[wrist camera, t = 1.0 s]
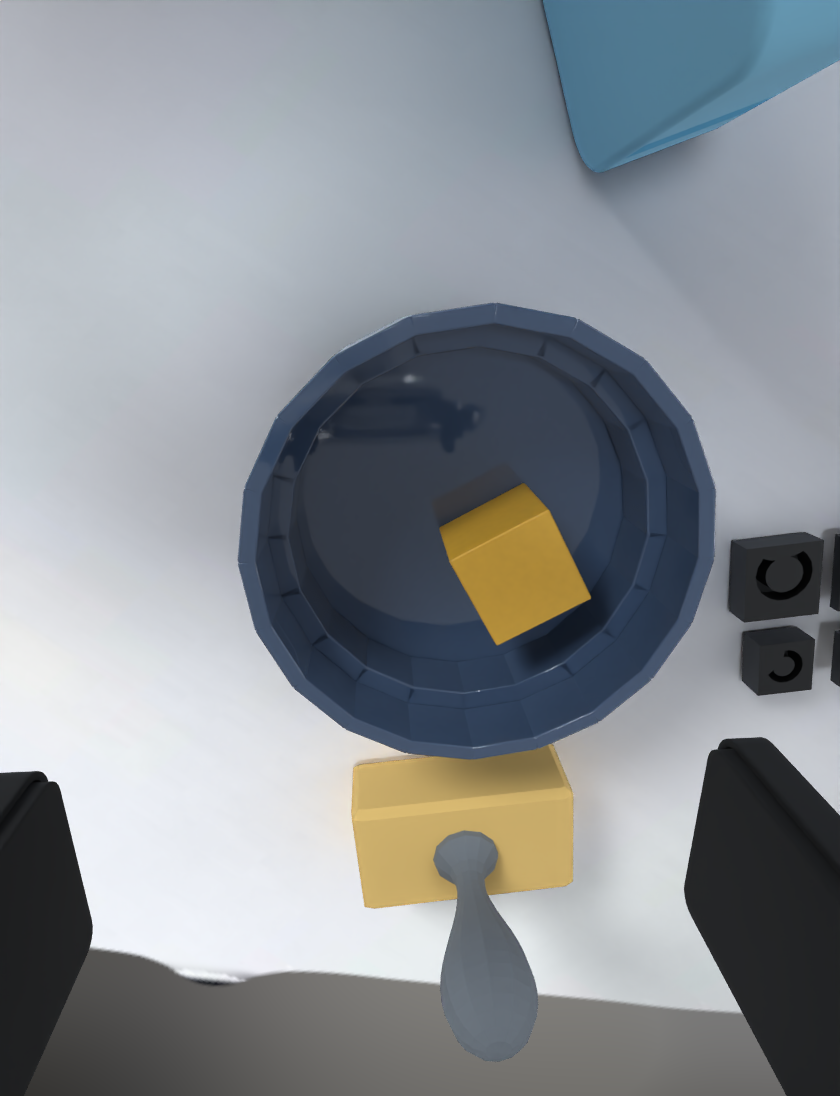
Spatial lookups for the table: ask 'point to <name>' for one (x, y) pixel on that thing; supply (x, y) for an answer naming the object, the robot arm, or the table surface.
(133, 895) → the table surface
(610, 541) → the bowl
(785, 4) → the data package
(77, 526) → the table surface
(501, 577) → the block
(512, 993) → the rubber stamp
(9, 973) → the robot arm
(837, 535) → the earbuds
